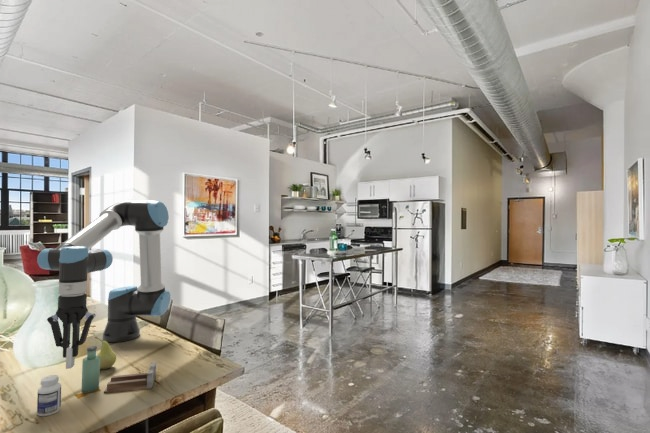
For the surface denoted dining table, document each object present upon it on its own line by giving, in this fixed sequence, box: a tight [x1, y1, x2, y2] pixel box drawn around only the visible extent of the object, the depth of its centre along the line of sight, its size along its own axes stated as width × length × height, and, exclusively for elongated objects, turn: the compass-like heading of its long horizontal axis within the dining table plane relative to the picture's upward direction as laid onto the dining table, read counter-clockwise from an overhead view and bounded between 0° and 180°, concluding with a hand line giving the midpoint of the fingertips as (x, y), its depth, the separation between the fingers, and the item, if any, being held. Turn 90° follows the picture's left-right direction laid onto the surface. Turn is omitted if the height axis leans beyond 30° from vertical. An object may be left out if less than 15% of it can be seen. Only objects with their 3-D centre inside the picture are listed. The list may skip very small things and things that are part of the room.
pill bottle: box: [36, 374, 62, 417], centre depth 101 cm, size 5×5×10 cm
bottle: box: [81, 345, 101, 393], centre depth 114 cm, size 5×5×14 cm
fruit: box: [94, 336, 117, 370], centre depth 130 cm, size 7×8×12 cm
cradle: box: [103, 361, 157, 394], centre depth 118 cm, size 9×14×5 cm, turn 108°
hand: (70, 366), depth 113 cm, fingers closed
